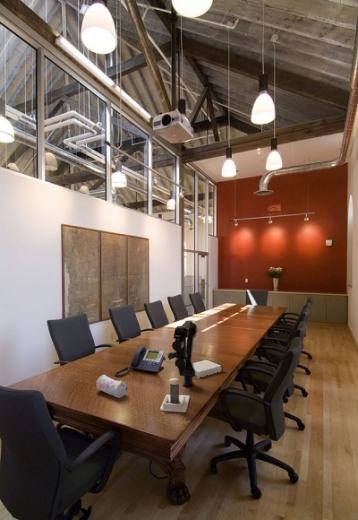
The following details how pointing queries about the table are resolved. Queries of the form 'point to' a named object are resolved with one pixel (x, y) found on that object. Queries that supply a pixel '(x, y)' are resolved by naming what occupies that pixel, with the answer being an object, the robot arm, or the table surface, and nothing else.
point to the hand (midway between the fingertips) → (181, 373)
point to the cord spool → (174, 390)
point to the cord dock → (175, 407)
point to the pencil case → (111, 386)
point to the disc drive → (206, 368)
